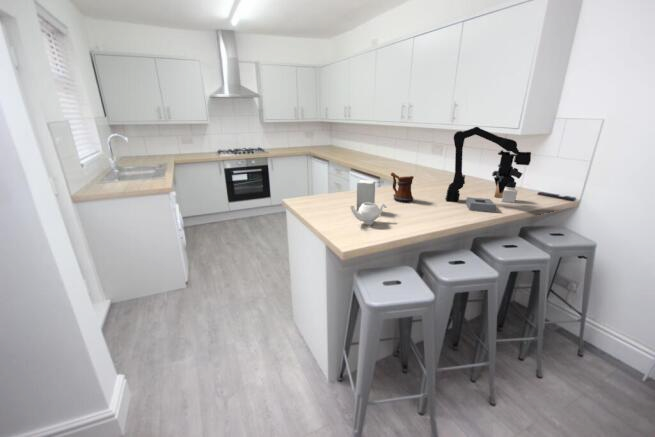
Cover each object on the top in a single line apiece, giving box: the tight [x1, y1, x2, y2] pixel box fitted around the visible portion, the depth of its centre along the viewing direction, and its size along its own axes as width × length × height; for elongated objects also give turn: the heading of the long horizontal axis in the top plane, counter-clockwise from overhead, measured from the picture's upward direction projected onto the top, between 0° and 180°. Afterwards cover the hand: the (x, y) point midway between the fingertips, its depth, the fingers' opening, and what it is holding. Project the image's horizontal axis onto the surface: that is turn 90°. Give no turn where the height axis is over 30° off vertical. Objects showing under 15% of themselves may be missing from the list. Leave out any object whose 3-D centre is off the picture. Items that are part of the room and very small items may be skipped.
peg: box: [493, 182, 505, 199], centre depth 160 cm, size 4×4×9 cm
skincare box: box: [356, 179, 376, 212], centre depth 150 cm, size 8×7×16 cm
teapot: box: [349, 202, 388, 226], centre depth 134 cm, size 10×20×9 cm, turn 115°
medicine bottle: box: [497, 180, 518, 203], centre depth 172 cm, size 7×7×12 cm
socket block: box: [465, 196, 497, 213], centre depth 159 cm, size 12×12×4 cm
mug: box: [390, 172, 415, 204], centre depth 172 cm, size 18×12×15 cm, turn 29°
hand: (499, 192), depth 161 cm, fingers closed on peg, 4 cm apart
